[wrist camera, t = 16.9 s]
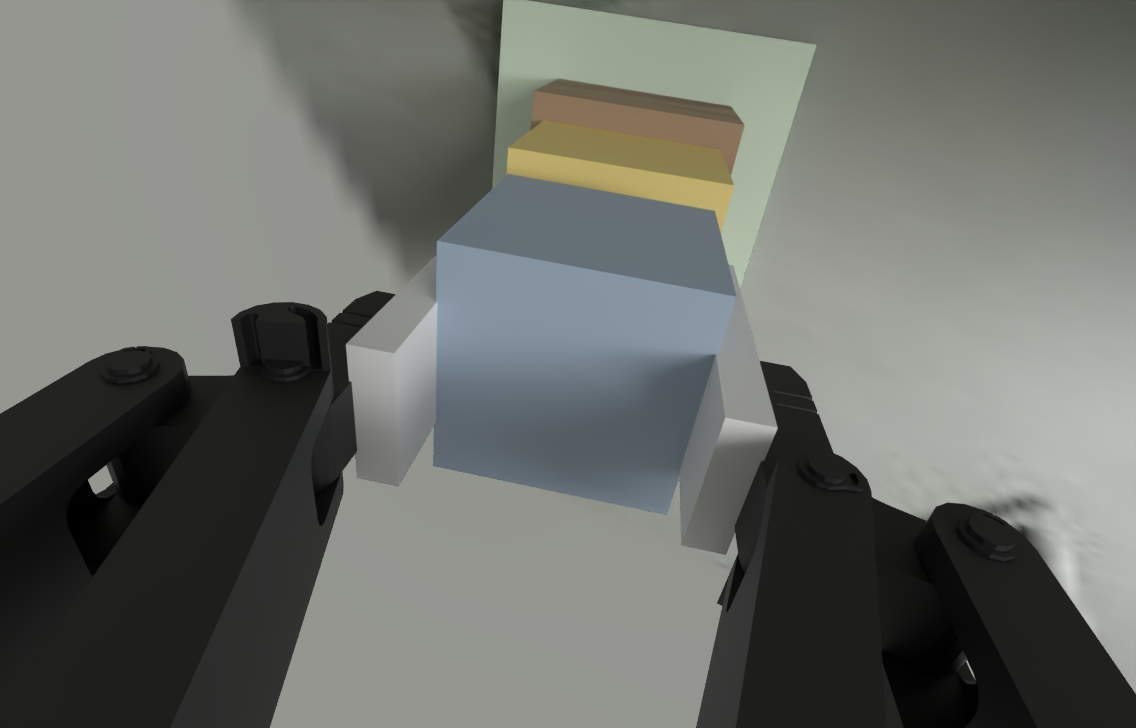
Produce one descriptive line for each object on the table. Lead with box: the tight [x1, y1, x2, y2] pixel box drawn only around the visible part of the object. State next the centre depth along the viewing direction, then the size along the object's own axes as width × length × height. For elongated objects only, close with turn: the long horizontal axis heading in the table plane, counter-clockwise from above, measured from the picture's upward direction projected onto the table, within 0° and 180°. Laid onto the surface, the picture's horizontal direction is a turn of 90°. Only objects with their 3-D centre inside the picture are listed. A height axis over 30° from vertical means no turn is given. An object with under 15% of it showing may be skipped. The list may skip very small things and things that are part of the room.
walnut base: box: [530, 78, 745, 175], centre depth 23 cm, size 7×7×5 cm
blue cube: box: [433, 174, 737, 515], centre depth 13 cm, size 5×5×5 cm
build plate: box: [492, 0, 817, 288], centre depth 25 cm, size 12×12×1 cm
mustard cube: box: [506, 120, 734, 233], centre depth 19 cm, size 6×6×5 cm
